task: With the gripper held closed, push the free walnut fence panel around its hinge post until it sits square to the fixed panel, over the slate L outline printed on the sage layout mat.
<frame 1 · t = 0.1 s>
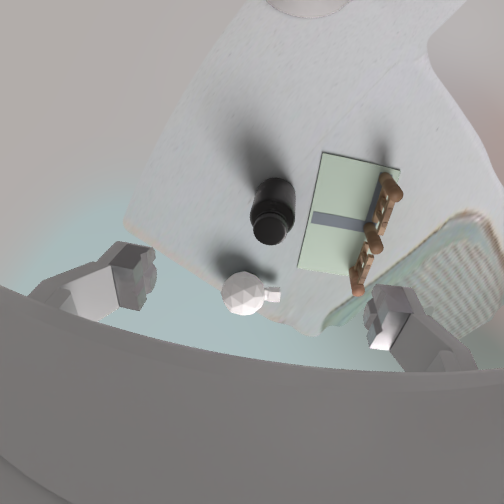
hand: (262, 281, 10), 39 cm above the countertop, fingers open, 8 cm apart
supplement bottle: (276, 194, 50), on the countertop
perfume bottle: (252, 281, 63), on the countertop
fence gate: (361, 268, 52), point 4 cm above the countertop, hinge at 0.0°
fence fixed: (368, 226, 51), resting on layout mat
layout mat: (346, 222, 51), on the countertop
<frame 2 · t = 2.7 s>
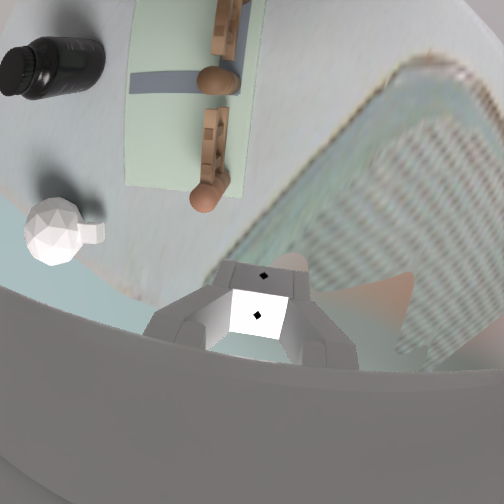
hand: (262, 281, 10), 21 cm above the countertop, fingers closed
supplement bottle: (85, 66, 25), on the countertop
perfume bottle: (80, 220, 36), on the countertop
fence gate: (214, 155, 25), point 4 cm above the countertop, hinge at 0.0°
fence fixed: (229, 83, 25), resting on layout mat
layout mat: (186, 82, 25), on the countertop
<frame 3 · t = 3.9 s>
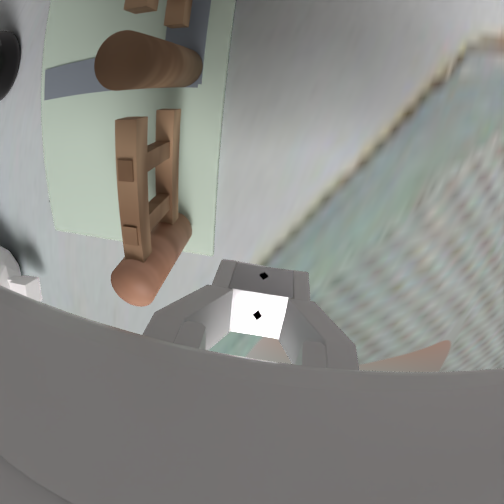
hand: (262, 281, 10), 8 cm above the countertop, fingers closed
supplement bottle: (2, 67, 13), on the countertop
perfume bottle: (20, 267, 24), on the countertop
fence gate: (152, 199, 14), point 4 cm above the countertop, hinge at 0.0°
fence fixed: (184, 68, 14), resting on layout mat
layout mat: (117, 72, 14), on the countertop
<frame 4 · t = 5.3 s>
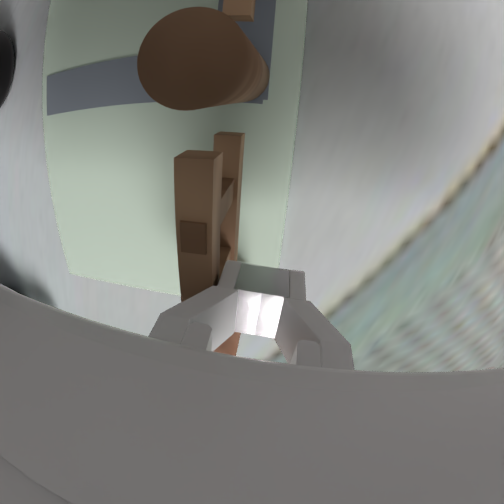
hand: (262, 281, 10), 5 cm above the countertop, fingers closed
fence gate: (214, 260, 11), point 4 cm above the countertop, hinge at 0.0°, touching gripper
fence fixed: (241, 76, 11), resting on layout mat
layout mat: (146, 78, 11), on the countertop
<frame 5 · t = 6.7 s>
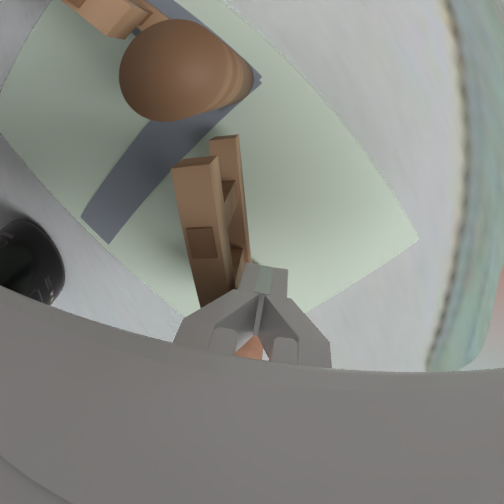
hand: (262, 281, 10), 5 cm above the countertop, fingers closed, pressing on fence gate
supplement bottle: (37, 255, 18), on the countertop
fence gate: (228, 263, 11), point 4 cm above the countertop, hinge at 38.1°, touching gripper
fence fixed: (226, 79, 11), resting on layout mat
layout mat: (160, 147, 13), on the countertop
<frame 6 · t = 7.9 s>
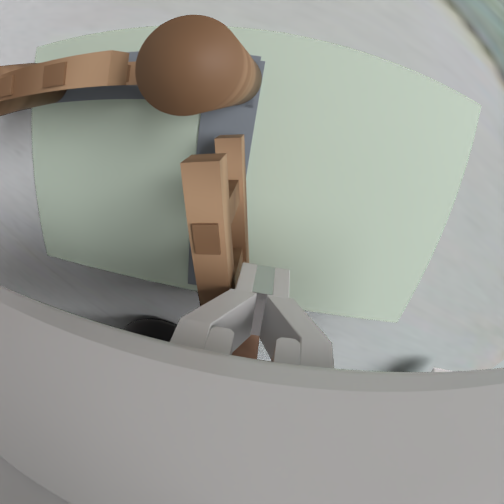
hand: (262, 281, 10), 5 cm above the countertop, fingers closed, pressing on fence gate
supplement bottle: (166, 346, 21), on the countertop
fence gate: (228, 261, 11), point 4 cm above the countertop, hinge at 79.5°, touching gripper
fence fixed: (234, 79, 11), resting on layout mat
layout mat: (221, 173, 13), on the countertop
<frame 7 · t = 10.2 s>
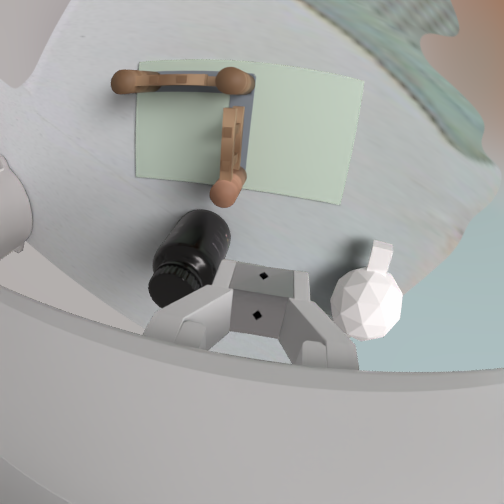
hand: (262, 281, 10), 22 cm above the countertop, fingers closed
supplement bottle: (205, 232, 36), on the countertop
perfume bottle: (367, 273, 36), on the countertop
fence gate: (231, 152, 26), point 4 cm above the countertop, hinge at 88.4°
fence fixed: (243, 83, 26), resting on layout mat
layout mat: (239, 124, 28), on the countertop
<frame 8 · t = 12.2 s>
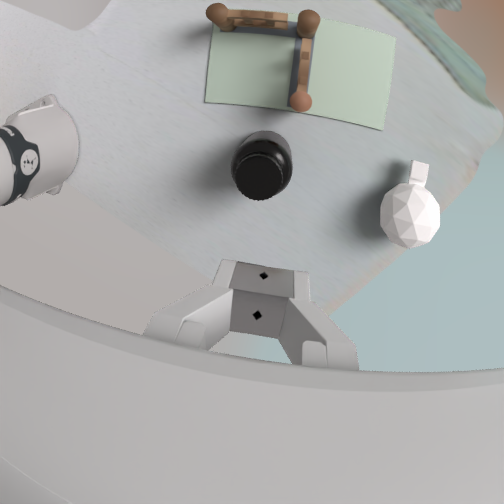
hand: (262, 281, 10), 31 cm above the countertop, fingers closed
supplement bottle: (266, 154, 38), on the countertop
perfume bottle: (404, 195, 38), on the countertop
fence gate: (302, 76, 29), point 4 cm above the countertop, hinge at 88.4°
fence fixed: (305, 32, 29), resting on layout mat
layout mat: (302, 62, 31), on the countertop
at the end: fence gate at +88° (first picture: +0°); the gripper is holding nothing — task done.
